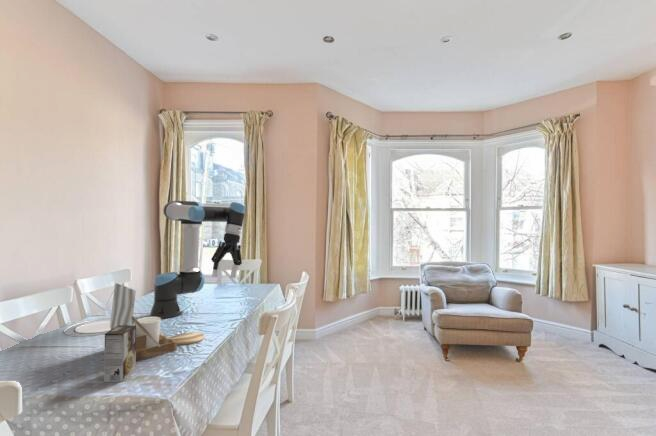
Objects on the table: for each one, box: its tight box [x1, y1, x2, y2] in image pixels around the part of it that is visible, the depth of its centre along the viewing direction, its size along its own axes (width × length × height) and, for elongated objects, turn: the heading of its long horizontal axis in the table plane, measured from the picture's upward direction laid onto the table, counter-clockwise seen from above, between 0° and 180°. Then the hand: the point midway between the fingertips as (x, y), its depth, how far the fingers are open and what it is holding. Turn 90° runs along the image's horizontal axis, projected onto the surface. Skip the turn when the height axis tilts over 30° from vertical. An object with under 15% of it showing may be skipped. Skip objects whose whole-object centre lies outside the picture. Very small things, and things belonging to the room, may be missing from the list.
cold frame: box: [109, 282, 178, 362], centre depth 143 cm, size 22×18×27 cm
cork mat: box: [170, 332, 205, 346], centre depth 156 cm, size 15×15×1 cm
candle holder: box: [133, 316, 162, 348], centre depth 144 cm, size 10×10×12 cm
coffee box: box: [103, 325, 137, 383], centre depth 119 cm, size 9×6×16 cm
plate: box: [63, 317, 111, 337], centre depth 172 cm, size 28×28×1 cm
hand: (224, 277), depth 167 cm, fingers open, 13 cm apart
